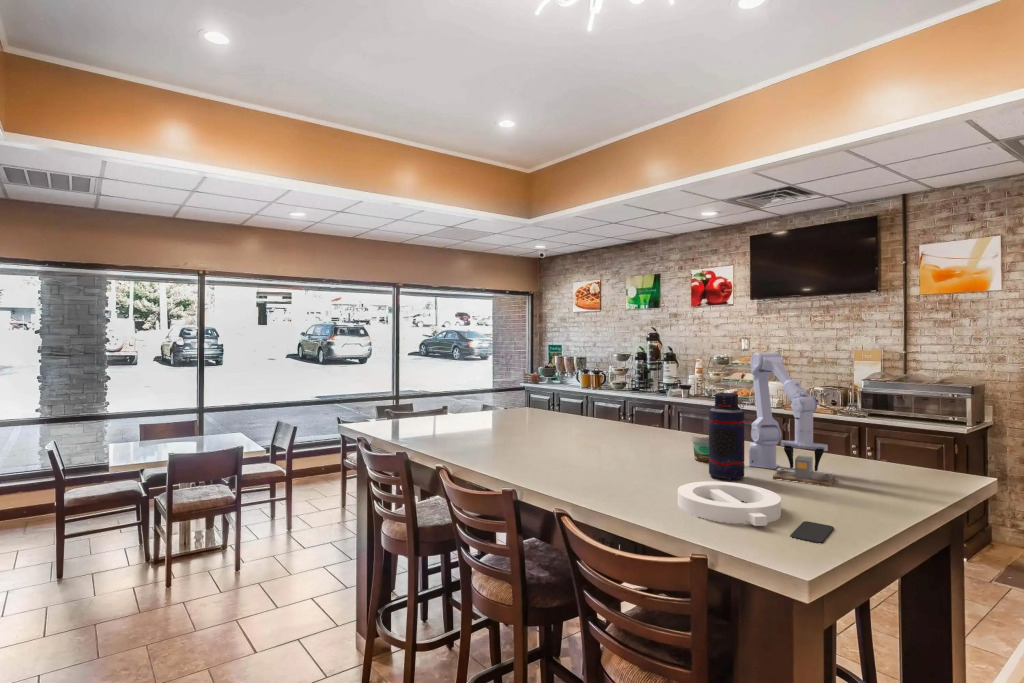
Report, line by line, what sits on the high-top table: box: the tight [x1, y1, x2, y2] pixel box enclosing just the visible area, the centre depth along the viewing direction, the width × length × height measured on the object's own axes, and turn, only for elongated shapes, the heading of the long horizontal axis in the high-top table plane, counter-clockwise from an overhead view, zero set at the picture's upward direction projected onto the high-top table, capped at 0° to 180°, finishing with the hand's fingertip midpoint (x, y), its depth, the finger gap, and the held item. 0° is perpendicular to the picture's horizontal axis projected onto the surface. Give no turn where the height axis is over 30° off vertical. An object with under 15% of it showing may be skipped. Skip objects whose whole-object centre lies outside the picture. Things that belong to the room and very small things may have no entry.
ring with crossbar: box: [677, 480, 782, 527], centre depth 165 cm, size 28×28×5 cm
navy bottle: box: [708, 392, 745, 482], centre depth 203 cm, size 14×12×30 cm
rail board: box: [772, 467, 836, 487], centre depth 200 cm, size 18×12×3 cm, turn 55°
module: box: [794, 454, 814, 479], centre depth 200 cm, size 4×8×6 cm, turn 145°
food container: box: [690, 435, 710, 464], centre depth 227 cm, size 12×6×10 cm, turn 73°
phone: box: [789, 520, 835, 544], centre depth 145 cm, size 7×1×15 cm
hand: (803, 468), depth 200 cm, fingers open, 7 cm apart
